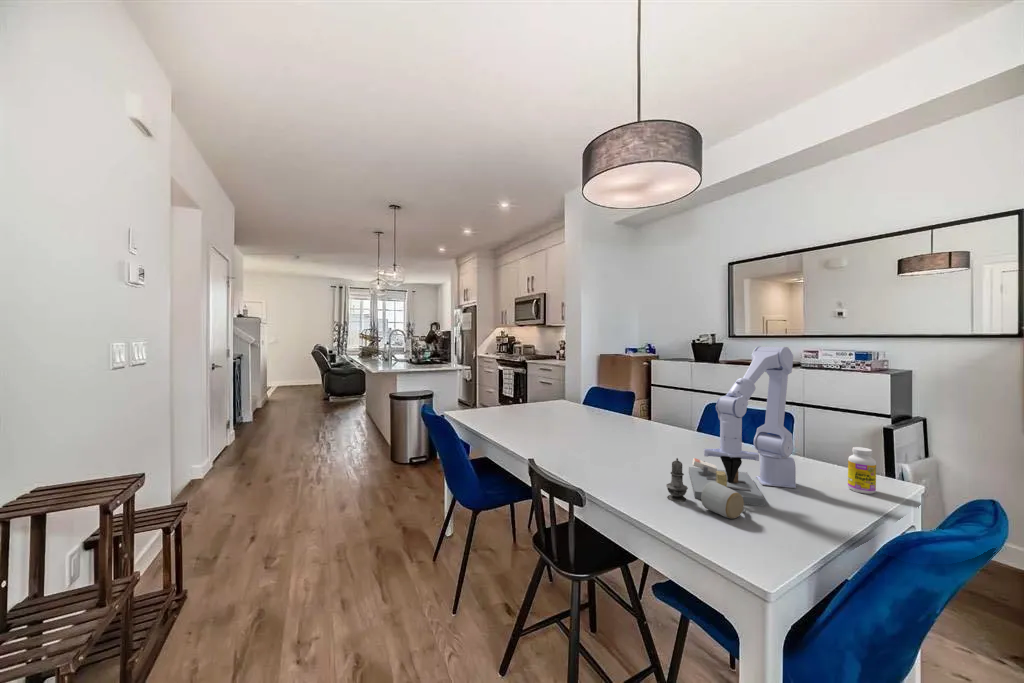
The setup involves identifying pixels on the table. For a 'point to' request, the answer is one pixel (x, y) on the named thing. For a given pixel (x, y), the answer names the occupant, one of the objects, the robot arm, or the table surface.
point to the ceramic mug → (722, 500)
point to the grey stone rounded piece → (677, 483)
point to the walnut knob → (736, 478)
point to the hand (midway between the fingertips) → (730, 482)
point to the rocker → (700, 464)
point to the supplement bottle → (862, 471)
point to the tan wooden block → (721, 478)
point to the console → (742, 487)
